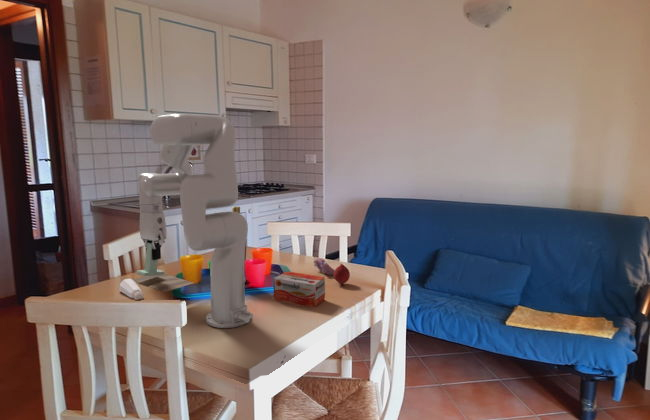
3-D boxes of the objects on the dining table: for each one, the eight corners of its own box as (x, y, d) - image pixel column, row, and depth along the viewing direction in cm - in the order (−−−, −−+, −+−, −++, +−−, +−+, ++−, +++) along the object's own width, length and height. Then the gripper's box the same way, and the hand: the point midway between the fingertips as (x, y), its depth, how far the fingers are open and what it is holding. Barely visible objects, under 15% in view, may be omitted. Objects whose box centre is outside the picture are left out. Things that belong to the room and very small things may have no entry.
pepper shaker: (115, 283, 147) (128, 295, 139) (131, 275, 150) (144, 286, 142) (122, 296, 149) (135, 308, 142) (137, 287, 152) (150, 299, 145)
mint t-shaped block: (164, 274, 162) (167, 244, 162) (144, 276, 156) (147, 244, 156) (156, 272, 165) (159, 242, 165) (136, 273, 159) (139, 242, 159)
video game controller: (317, 273, 181) (310, 259, 178) (326, 267, 182) (319, 253, 180) (327, 280, 172) (320, 265, 170) (337, 274, 173) (330, 259, 171)
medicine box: (273, 300, 146) (273, 277, 145) (285, 293, 153) (285, 270, 152) (314, 308, 140) (315, 284, 139) (325, 300, 147) (326, 277, 146)
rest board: (194, 285, 159) (194, 283, 158) (164, 294, 149) (164, 291, 149) (160, 274, 170) (160, 272, 170) (131, 282, 161) (131, 280, 160)
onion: (349, 282, 165) (350, 261, 164) (349, 287, 160) (349, 265, 158) (334, 281, 166) (334, 260, 165) (332, 286, 160) (333, 265, 159)
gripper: (174, 209, 156) (176, 260, 159) (147, 204, 166) (149, 252, 169) (155, 211, 150) (157, 264, 153) (128, 206, 160) (131, 256, 163)
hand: (153, 258), depth 161 cm, fingers closed on mint t-shaped block, 3 cm apart
